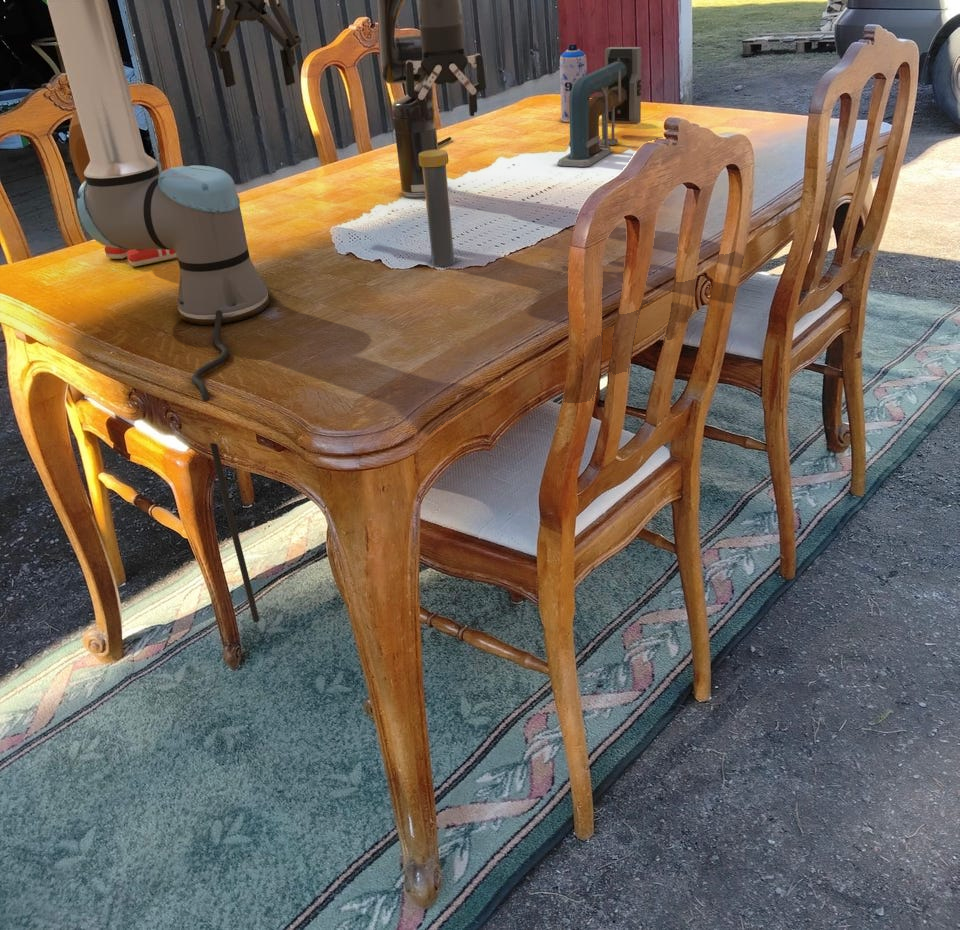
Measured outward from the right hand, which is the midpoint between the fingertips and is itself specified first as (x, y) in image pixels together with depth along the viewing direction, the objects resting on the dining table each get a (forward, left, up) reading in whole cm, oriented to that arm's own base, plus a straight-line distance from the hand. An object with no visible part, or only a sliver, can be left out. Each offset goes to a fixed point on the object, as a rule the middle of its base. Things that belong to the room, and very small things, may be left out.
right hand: (448, 117), depth 178 cm
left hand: (-27, -35, +5) cm, 45 cm away
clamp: (-60, +43, -23) cm, 78 cm away
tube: (+13, -4, -23) cm, 27 cm away
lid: (+13, -4, -4) cm, 14 cm away
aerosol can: (-99, +45, -23) cm, 111 cm away
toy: (-12, -64, -23) cm, 69 cm away
